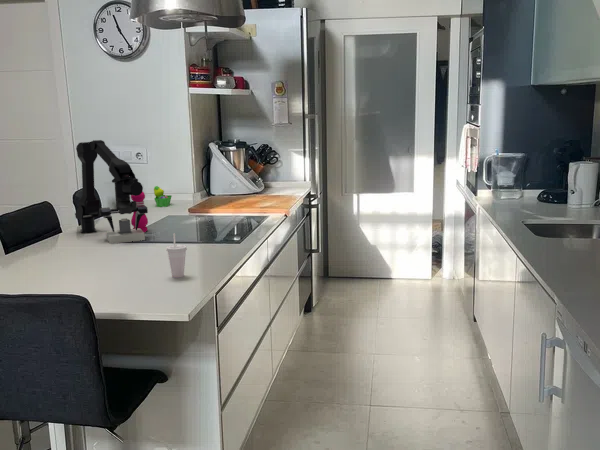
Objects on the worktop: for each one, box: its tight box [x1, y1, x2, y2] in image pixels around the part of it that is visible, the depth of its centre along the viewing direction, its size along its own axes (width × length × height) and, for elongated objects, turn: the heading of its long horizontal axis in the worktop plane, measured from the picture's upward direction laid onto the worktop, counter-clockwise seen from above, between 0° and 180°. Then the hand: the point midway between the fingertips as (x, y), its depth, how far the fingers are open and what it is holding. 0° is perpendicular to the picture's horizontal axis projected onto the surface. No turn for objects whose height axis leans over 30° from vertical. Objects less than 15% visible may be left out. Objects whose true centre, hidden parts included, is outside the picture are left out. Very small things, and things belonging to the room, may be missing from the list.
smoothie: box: [166, 233, 188, 279], centre depth 191 cm, size 6×6×14 cm
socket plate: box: [105, 228, 146, 244], centre depth 250 cm, size 12×14×3 cm
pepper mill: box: [130, 191, 149, 233], centre depth 264 cm, size 7×7×20 cm
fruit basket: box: [153, 185, 173, 208], centre depth 339 cm, size 11×9×11 cm
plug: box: [118, 218, 132, 234], centre depth 249 cm, size 4×4×9 cm
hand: (125, 231), depth 249 cm, fingers open, 9 cm apart
